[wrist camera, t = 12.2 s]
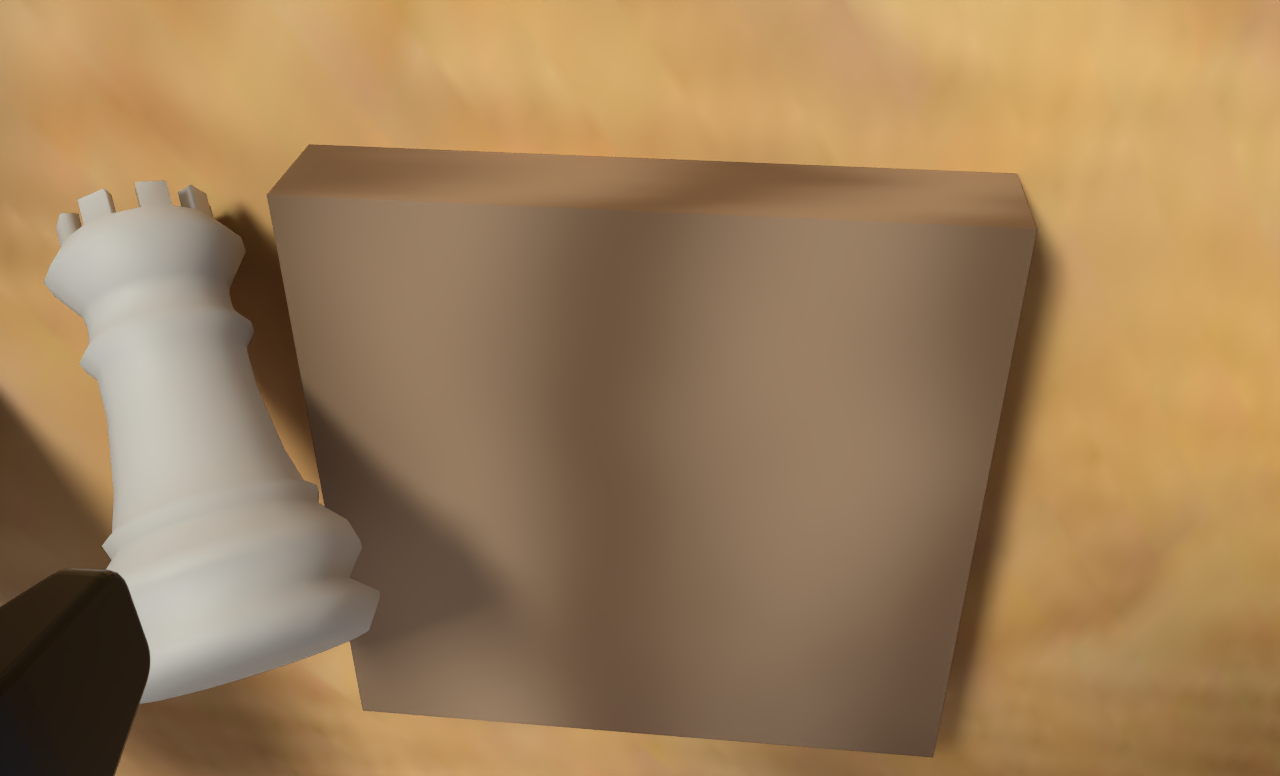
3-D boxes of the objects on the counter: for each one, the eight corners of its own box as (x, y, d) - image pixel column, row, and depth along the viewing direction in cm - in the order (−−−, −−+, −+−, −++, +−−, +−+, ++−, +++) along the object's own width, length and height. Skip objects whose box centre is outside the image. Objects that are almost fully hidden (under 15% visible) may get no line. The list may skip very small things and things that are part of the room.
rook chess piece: (106, 722, 21) (3, 287, 22) (365, 643, 23) (254, 249, 24) (100, 695, 17) (-24, 171, 18) (415, 602, 19) (278, 136, 20)
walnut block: (1013, 162, 21) (1037, 228, 19) (922, 667, 27) (933, 757, 25) (317, 134, 22) (267, 194, 20) (394, 627, 28) (362, 710, 26)
